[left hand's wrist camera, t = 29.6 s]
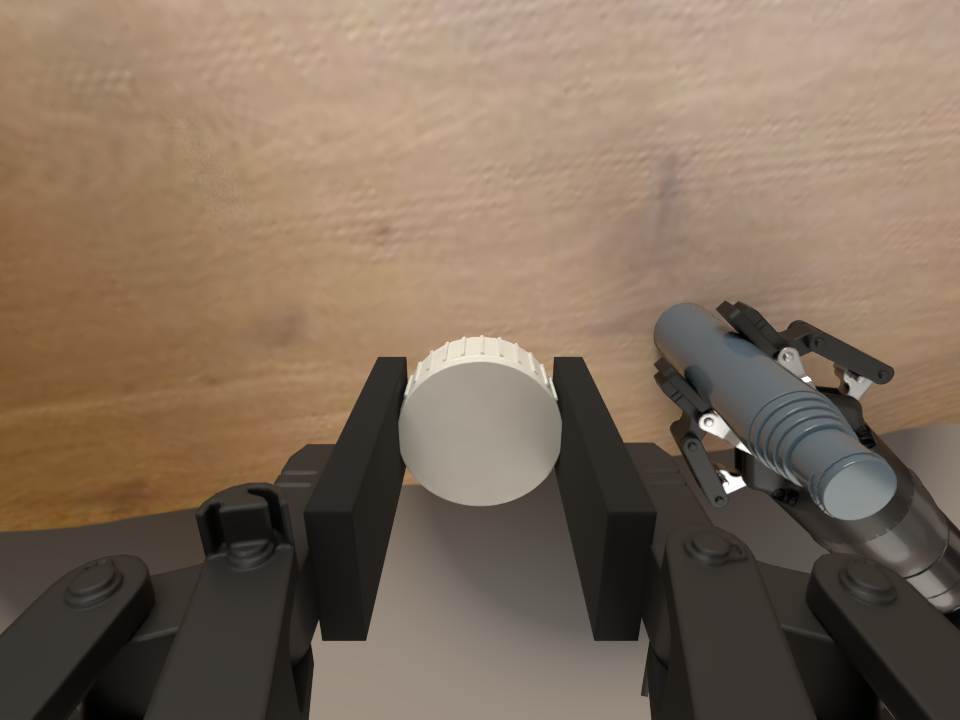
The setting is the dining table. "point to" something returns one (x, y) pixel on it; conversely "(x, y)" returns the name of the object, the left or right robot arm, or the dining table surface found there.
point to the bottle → (776, 414)
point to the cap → (480, 422)
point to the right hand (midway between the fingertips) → (694, 337)
